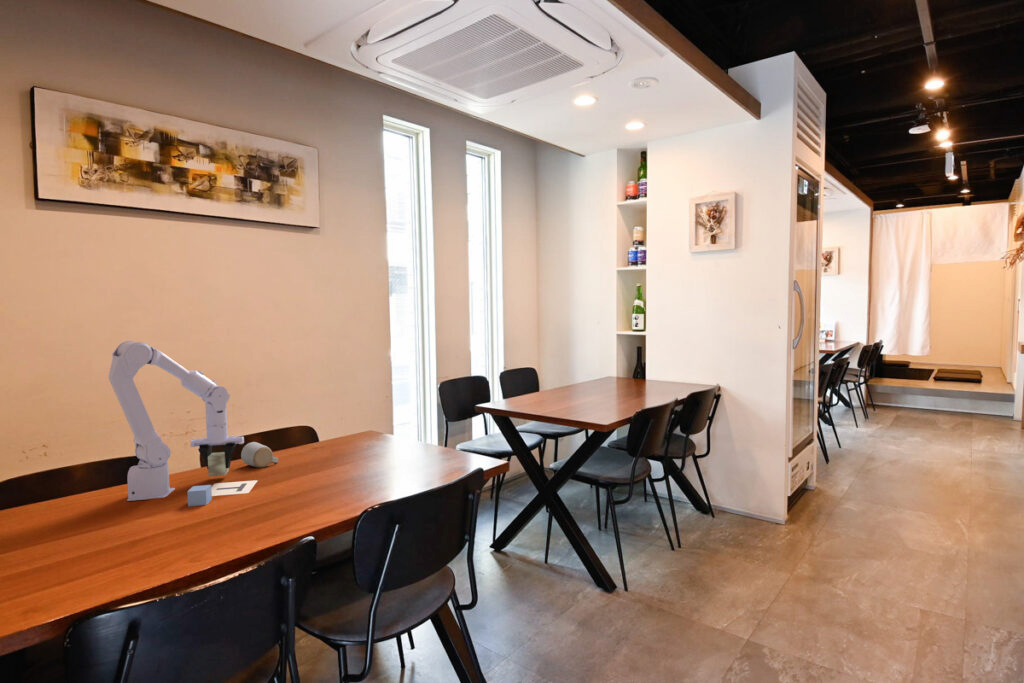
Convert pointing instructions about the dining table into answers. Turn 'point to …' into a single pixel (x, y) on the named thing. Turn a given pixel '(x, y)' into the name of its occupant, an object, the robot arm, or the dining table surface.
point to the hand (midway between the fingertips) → (218, 468)
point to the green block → (217, 464)
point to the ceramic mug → (257, 455)
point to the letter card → (232, 488)
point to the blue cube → (199, 495)
